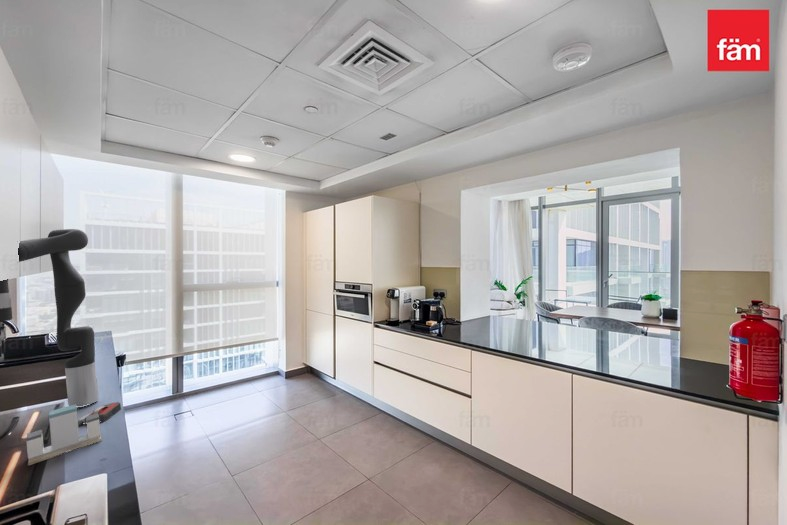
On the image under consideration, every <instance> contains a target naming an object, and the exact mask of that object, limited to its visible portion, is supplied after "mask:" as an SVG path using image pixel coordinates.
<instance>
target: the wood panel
mask: <svg viewBox="0 0 787 525" xmlns="http://www.w3.org/2000/svg"><path fill="white" fill-rule="evenodd" d="M96 442H97V443H100V442H102V437H101V435H100V438H98V439H95V440H92V441H89V442H86V443H83V444H80V445H77V446H74V447H71V448H68V449H65V450H62V451H59V452H56V453H53V454H50V455H47V456H44V457H41V458H38V459H35V460H32V461H29V459H28V461H27V466H31V465H34V464H37V463H40V462H43V461H45V460H49V459H52V458H55V457H57V456H56V455H58V454H60V453H63V452H66V451H69V450H73V449H76V448H79V447H82V448H85V447H88V446H90V444H91V445H93V443H94V444H96ZM87 445H88V446H87ZM84 446H85V447H84ZM79 449H80V448H79ZM76 450H77V449H76ZM73 451H74V450H73ZM54 456H55V457H54ZM58 456H59V455H58Z"/></svg>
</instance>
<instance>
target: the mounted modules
mask: <svg viewBox="0 0 787 525" xmlns="http://www.w3.org/2000/svg"><path fill="white" fill-rule="evenodd" d="M86 422H87V425H86V430H87V432H86V434H88V439H89V438H92V437H95V436H99V435H100V436H101V434H102V433H101V424H100V423H101V422H99V415H98V413H97V414H93V415H90V416H86ZM25 438H26V439H25V440H26V441H25V442H26V450H27V459H28V460H29V458H32V457H35V456H38V455H41V454H43V450H44V448H45V446H44V437H43V429H40V430H36V431H32V432H30V433H27V435H26V437H25Z"/></svg>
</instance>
